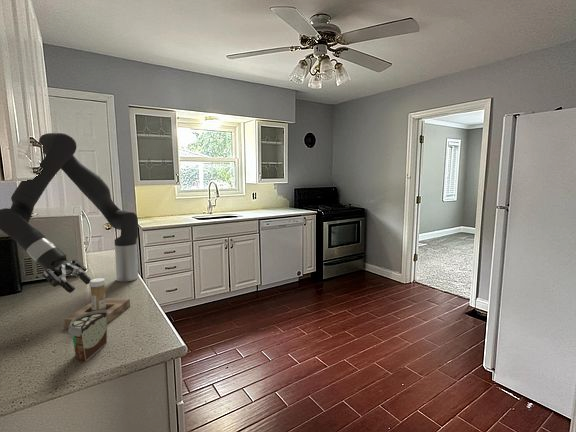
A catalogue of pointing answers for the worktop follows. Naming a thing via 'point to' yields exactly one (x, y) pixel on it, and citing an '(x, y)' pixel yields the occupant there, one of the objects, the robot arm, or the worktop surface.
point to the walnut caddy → (112, 307)
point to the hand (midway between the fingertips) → (81, 286)
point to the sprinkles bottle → (98, 294)
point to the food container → (89, 333)
